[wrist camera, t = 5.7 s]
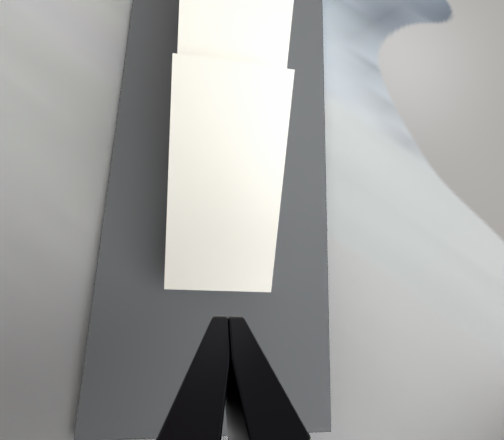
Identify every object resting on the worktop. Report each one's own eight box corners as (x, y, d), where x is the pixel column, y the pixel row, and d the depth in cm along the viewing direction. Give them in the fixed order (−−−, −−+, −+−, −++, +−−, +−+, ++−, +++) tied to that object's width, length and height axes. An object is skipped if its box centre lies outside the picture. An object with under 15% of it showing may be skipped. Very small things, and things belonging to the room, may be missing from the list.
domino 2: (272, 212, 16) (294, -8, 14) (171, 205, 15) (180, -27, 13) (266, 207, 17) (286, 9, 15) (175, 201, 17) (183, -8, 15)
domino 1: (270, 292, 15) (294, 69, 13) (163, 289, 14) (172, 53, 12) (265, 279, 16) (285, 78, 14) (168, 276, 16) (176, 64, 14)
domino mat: (327, 428, 16) (331, 431, 15) (76, 437, 14) (73, 441, 14) (319, -19, 22) (321, -25, 21) (141, -51, 20) (140, -57, 20)
